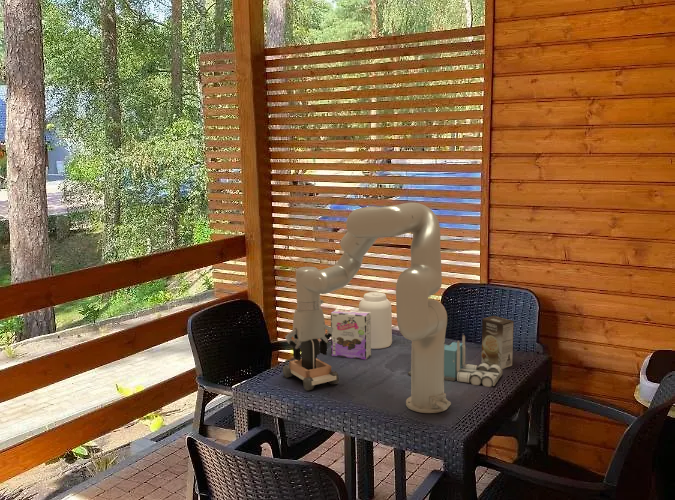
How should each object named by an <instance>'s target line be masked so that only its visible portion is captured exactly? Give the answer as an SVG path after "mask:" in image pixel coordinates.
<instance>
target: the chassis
mask: <svg viewBox="0 0 675 500" xmlns="http://www.w3.org/2000/svg"><path fill="white" fill-rule="evenodd" d="M282 373H283V374H282V375H283V377H284V378H285V379H286V378H287V379H288V378H292V377H293V376H296V377H297V378H298V379H300V380H302V386H303V389H304V390H305V391H306V392H307V391H311V390H314V388H315V386H316V385H320V384H325V383H327V382H328V383H329V385H332V386H333V385H337V384H339V382H340V376H339V373H338V372H337V371H335V370H334V371H332V365H330V364H328V363H327V362H324V361H323V360H320V359H319V358H317V357H316V368H315V369H310V370H307V369H305V368H304V367H302V359H301V360H300V361H298V360H296V359H293V360H289V362H288V364H286V365H284V366H283V367H282Z"/></svg>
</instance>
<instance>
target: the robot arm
mask: <svg viewBox="0 0 675 500" xmlns="http://www.w3.org/2000/svg"><path fill="white" fill-rule="evenodd" d="M345 222H346V224H345V225H346V229H347V231H346V233H345V234H344V235H343V237H342V238H341V240H340V243H339V244H340V248H341V250H342V251H343V254H342V255H341V256H340V257H339V259H338V260H337V261H336V263H335V264H334V265H333V266H330V267H326V268H323V269H318V268H317V267H315V266H301V267H298V268H297V269H296V271H295V283H296V284H295V289H296V290H295V291H296V309H294V313H293V317H292V318H293V319H292V330H291V331H290V332H289V333H287V334H286V335H285V336H284V337H285V340H286V341H287V344H288V345H290V346H291V347H292V351H293V352H292V353H293V354H292V355H293V358H294V360H298V361H300V360H301V343H302V342H306V341H309V340H311V339H318V340H319V345H320V354H322V355H324V356H327V354H328V353H327V351H328V342H329V340H330V339H331V334H332V332H333V328H332V327H331V325H327V324H326V322H325V314H324V311H323V308H322V305H323V304H324V299H321V295H326V294H329V293H332V292H334V291H337V290H340V289H343V288H344V287H347V285H348V284H349V283H350V282H351V281H352V279H354V277H355V276H356V274H357V273H358V271H360V269H361V267H362V264H363V261H364V257H365V255H366V254H367V252H368V251H369V250H370V249H371V247H372V246H373V245H374V244H375V242H376V241H377V240H378V239H379V238H388V237H389V238H392V237H399V236H403V235H406V234H409V233H411V234H412V238H411V239H412V240H411V244H410V267H408V268H407V269H404V270H403V271H402V272H401V273H400V274H399V276H398V277H397V281H396V284H395V306H396V323H397V324H396V325H397V327H398V328H397V329H398V330H399V333H400V334H401V335H402V336H403V337H404V338H405V339H407V340H409V341H411V349H410V351H411V352H410V367H411V368H410V370H411V375H410V377H411V378H410V380H411V381H410V386H411V387H410V389H411V390H410V396H409V397H408V398H406V400H405V406H406V407H407V408H408V409H409V410H410V411H414V412H416V413H422V414H438V413H441V412H445V411H447V410H448V409H449V408H450V406H451V404H452V402H451V401H449V399H448V398H447V393H445V380H444V344H446V341H445V340H446V332H447V325H448V314H447V313H448V312H447V311H446V307H445V306H444V305H443V303H441V302H440V301H439V300H436V299H434V298H433V299H432V298H429V297H431V296H433V295H435V294H437V293H438V292H439V291H440V290H441V287H442V284H443V276H442V275H443V274H442V252H441V226H440V221H439V219H438V217H437V215H436V214H435V212H434V211H433V210H432V209H431V208H429V206H427V205H425V204H422V203H419V202H404V203H401V204H400V203H399V204H394V205H388V206H380V207H379V206H375V205H374V206H373V205H372V206H370V205H369V206H365V207H360V208H357V209H354V210H353V211H351V212H350V213H349V215H348V216H347V219H346V221H345ZM292 338H293V339H294V340H293V339H292Z"/></svg>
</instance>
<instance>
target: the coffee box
mask: <svg viewBox="0 0 675 500" xmlns="http://www.w3.org/2000/svg"><path fill="white" fill-rule="evenodd" d="M481 325H482V326H481V363H480V364H482V363H486V364H488V365H489V367H491V366H492V365H498V366H499V367H500V368H501V370H504V369H507V368H509V367H512V366H513V355H514V353H513V350H514V349H513V348H514V346H513V345H514V326H515V325H514V320H511V319H508V318H504V317H500V316H498V315H497V316H496V315H492V316H487V317H484V318H482V324H481Z"/></svg>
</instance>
